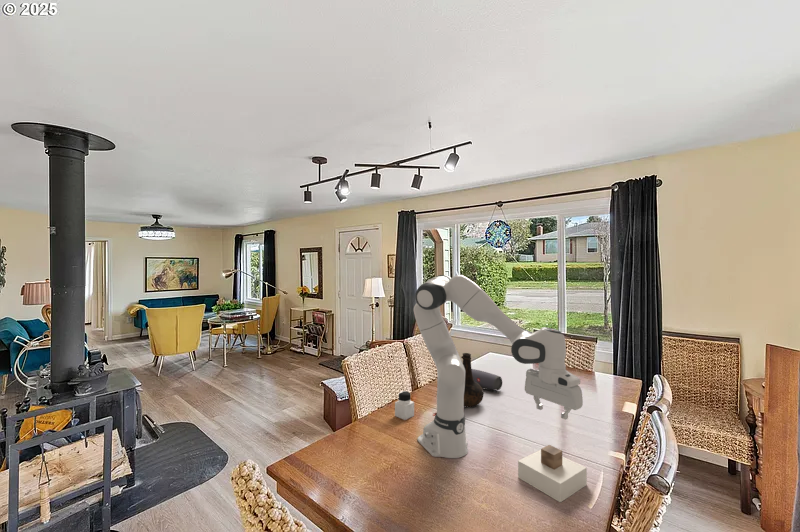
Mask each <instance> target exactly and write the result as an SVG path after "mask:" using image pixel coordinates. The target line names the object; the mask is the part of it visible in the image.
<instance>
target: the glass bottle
mask: <svg viewBox="0 0 800 532" xmlns="http://www.w3.org/2000/svg"><path fill="white" fill-rule="evenodd" d="M471 355H472V354H471V353H469V352H468V353H467V352H463V353H462V356H460V358H461V360H462V363H463V365H464V368H465V390H464V408H475V407H476V406H479V405H480V404H481V402H482V401H483V399H484V396H485V395H484V390H483V388H482V387H481V386H480V385H479V384H478V383H476V382H475V381H474V379H473V375H472V369H473V368H472V356H471Z"/></svg>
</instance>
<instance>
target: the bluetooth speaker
mask: <svg viewBox="0 0 800 532" xmlns="http://www.w3.org/2000/svg"><path fill="white" fill-rule="evenodd" d="M471 369H472V375H473V379H474V381H475V382H476V383H478V384H479V385H480V386H481V387H482V389H483V388H485V389H484V390H487V389H490V390H495V391H499V390H501V389H502V387H503V378H502V376H499V375H498V374H493V373H491V372H487V371H483V370H480V369H474V368H471Z"/></svg>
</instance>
